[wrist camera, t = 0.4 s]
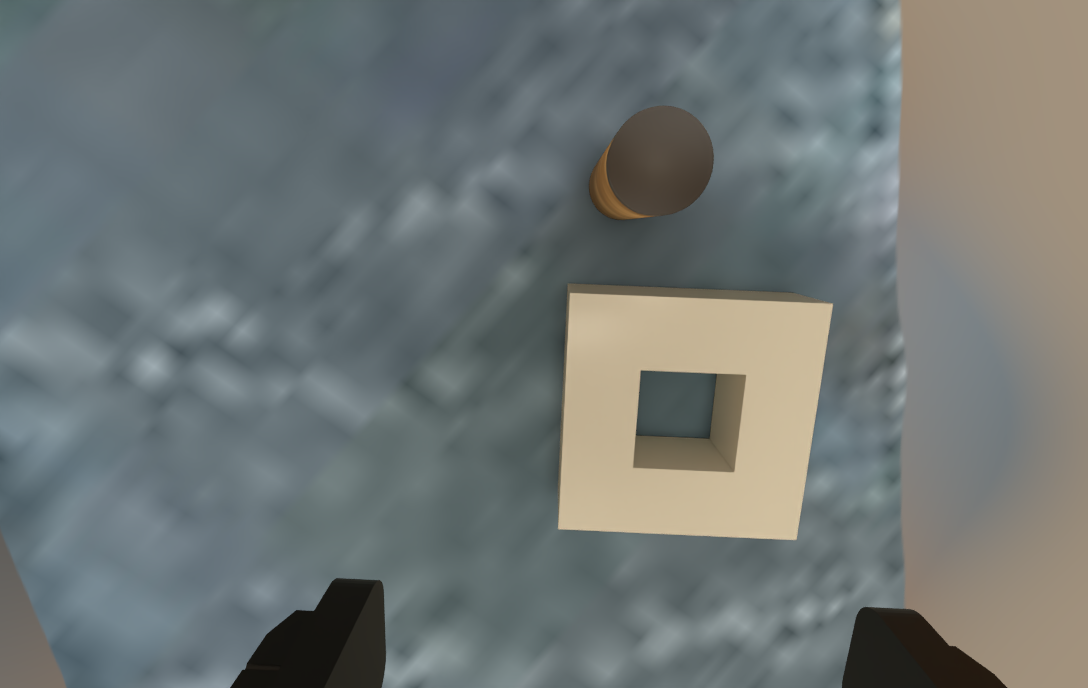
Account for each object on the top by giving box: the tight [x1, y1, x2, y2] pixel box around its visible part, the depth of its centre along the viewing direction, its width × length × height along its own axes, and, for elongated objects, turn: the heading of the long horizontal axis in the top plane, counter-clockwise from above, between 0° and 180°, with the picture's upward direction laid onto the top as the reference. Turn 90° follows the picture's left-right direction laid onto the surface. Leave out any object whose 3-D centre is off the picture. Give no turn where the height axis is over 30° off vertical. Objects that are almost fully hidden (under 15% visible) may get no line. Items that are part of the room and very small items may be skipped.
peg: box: [589, 106, 714, 220], centre depth 26 cm, size 4×4×12 cm
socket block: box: [558, 283, 833, 540], centre depth 32 cm, size 14×14×5 cm
